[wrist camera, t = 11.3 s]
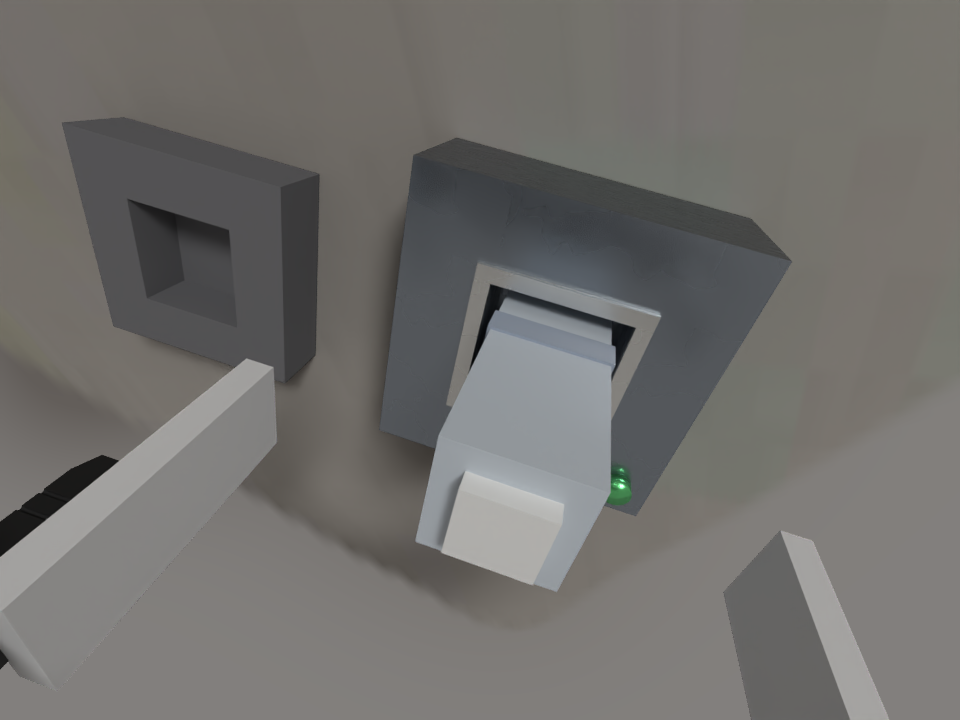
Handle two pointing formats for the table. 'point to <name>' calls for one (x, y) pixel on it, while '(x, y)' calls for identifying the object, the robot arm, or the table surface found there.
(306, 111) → the table surface
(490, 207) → the port
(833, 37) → the table surface
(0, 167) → the table surface
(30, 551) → the robot arm
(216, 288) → the holster
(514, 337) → the plug
